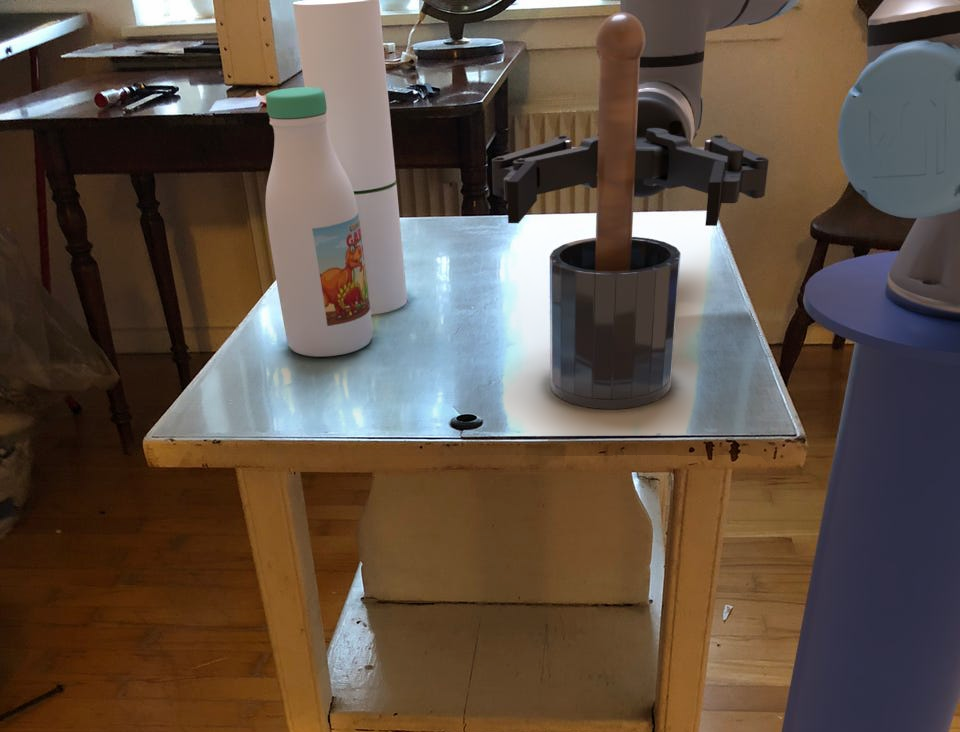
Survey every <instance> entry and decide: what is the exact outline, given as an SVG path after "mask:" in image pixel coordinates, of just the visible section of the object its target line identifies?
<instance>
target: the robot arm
mask: <svg viewBox="0 0 960 732" xmlns="http://www.w3.org/2000/svg"><path fill="white" fill-rule="evenodd" d="M799 1H800V0H620V1H619V3H620V5H619V6H620V7H619V13H620V12H625V13H629V14H632V15H633V16H635V17H636V18H637V19H638V20H639V21H640V22H641V24H642V26H643V28H644V31H645V47H644V50H643V53H642V55H641V57H640V69H639V91H638V114H637V136H636V159H635V181H634V199H636V198H637V199H642V198H643V199H644V198H649V197H653V196H655V195H657V194H659V193H662V192H663V191H665V190H666V189H669V190H670V189H675V188H682V187H685V188H688V189H692V190H695V191H698V192H701V193H705V194H707V200H706V201H707V203H706V215H705V225H704V226H705V227H717V226H718V221H719V217H720V213H721V208H722V204H736V203H738V202H739V198H740V194H743V195H745V196H747V197H749V198H751V199H760V198H763V197H765V196H766V187H767V179H768V170H769V162H770V158H768V157H766V156H763V155H761V154H758V153H756V152H754V151H752V150H750V149H747V148H745V147H742V146H740V145H738V144H735V143H733V142H731V141H729V140H728V136H726V135H723V134H715V135H713V136H710V139H705V140H704V146H694V147H693V145H692V144H693V142H694V140H695V138H696V137H697V135H698V133H697V132H698V131H699V130H700V128H701V126H702V125H701V124H702V118H703V107H704V106H703V105H704V101H703V99H704V98H702V87H703V74H704V73H703V72H704V60H705V49H706V48H705V47H706V39H707V38H706V37H707V33H709V32H713V31H718V30H723V29H729V28H734V27H739V26H744V25H748V26H755V25H758V24H762V23H764V22H767V21H771V20H772V19H774V18H777V17H780V16H782V15H784V14H785V13H787V12H789V11H790V10H792V9H793V8H794V7H795V6H796V5H797V4H798V3H799ZM866 39H867V41H866V66H865V68H864V69H862V71H861V73H860V75H858V77H857V80H856V81H855V82H854V84H853V85H852V87H851V88H850V89H849V90H848V93H846V94H847V95H846V97H845V99H844V101H843V104H842V106H841V110H840V115H839V119H838V126H837V127H838V128H837V147H838V153H839V159H840V162H841V165H842V168H843V171H844V173H845V176H846V177H847V179H848V181H849V183H850V185H851V186H852V187H853V189H854V190H855V191H856V192H857V193H858V194H860V195H861V196H862V197H863V199H864V200H865V201H867V202H868V204H869V205H871V206H872V207H873V208H874V209H876V210H879V211H880V212H883V213H885V214H888V215H891V216H895V217H899V218H903V219H916V220H915V221H914V223H913V225H912V227H911V229H910V231H909V232H908V234H907V236H906V237H905V240H904V241H903V244H902V245H901V247H900V249H899V250H898V251H899V253H898V254H897V256H896V258H895V260H894V262H893V264H892V266H891V269H890V271H889V274H888V279H887V284H886V289H885V293H886V295H887V297H888V298H889V299H890V300H891V301H893V302H894V303H895V304H897V305H899V306H901V307H903V308H905V309H907V310H909V311H912V312H915V313H918V314H921V315H925V316H929V317H933V318H938V319H943V320H949V321H956V322H960V0H882V2H881V3H880V4H879V5H878V7H877V8H876V9H875V11H874V12H873V13H872V14H871V16H869V18H868V22H867V37H866ZM572 144H573V143H572V140H571V139H570V136H567V135H564V134H560V135H558V136H555V137H554V138H552V139H550V140H549V141H547V142H544V143H540V144H537V145H534V146H530V147H527V148H524V149H520V150H516V151H514V152H510V153H506V154H503V155H501V156H500V155H499V156H496V157H494V158H492V159H491V173H492V174H491V176H492V179H491V180H492V194H493V195H494V196H497V197H503V200H504V201H505V202H507V223H508V224H519V223H520V222H521V221H522V220H523V219H524V218H525V216H526V215H527V213H528V212H529V211H530V210H531V209H532V207H533V206H534V205H535V204H536V202H537V201H538V195H542V194H546V193H550V192H555V191H559V190H562V189H563V190H564V189H567V188H568V189H569V188H572V187H577V186H582V187H586V188H589V189H590V188H591V189H597V165H598V134H597V135H596V136H592V137H587V138H584V139H582V140H581V141H580V144H579V145H578V146H573V145H572Z"/></svg>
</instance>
